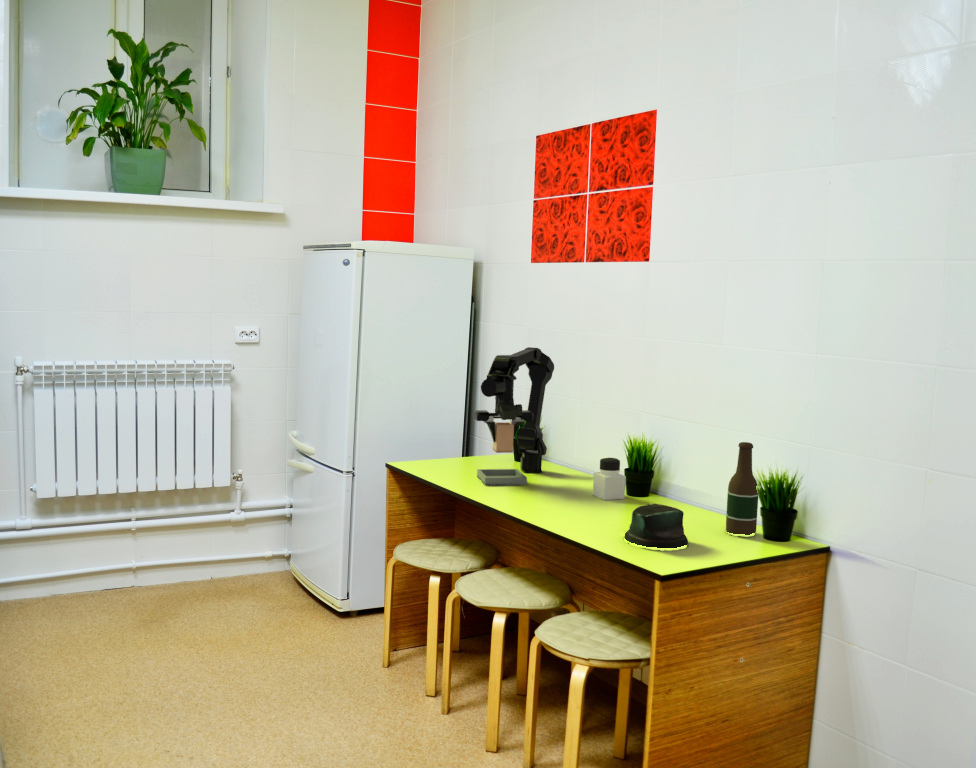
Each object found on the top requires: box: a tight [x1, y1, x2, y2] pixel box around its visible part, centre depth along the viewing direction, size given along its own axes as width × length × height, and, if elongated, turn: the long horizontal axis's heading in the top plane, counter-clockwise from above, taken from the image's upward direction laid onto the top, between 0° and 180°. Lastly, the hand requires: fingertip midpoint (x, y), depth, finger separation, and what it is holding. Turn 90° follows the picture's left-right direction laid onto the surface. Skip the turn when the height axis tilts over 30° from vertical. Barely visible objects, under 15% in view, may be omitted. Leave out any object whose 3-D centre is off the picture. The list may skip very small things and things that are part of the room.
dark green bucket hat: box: [624, 502, 689, 548], centre depth 211 cm, size 20×20×9 cm
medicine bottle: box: [592, 457, 626, 501], centre depth 259 cm, size 7×7×12 cm
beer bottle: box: [725, 441, 759, 535], centre depth 220 cm, size 8×8×24 cm
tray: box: [476, 468, 528, 486], centre depth 278 cm, size 14×14×2 cm
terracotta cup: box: [492, 421, 514, 454], centre depth 277 cm, size 6×6×9 cm
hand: (503, 441), depth 277 cm, fingers closed on terracotta cup, 5 cm apart
